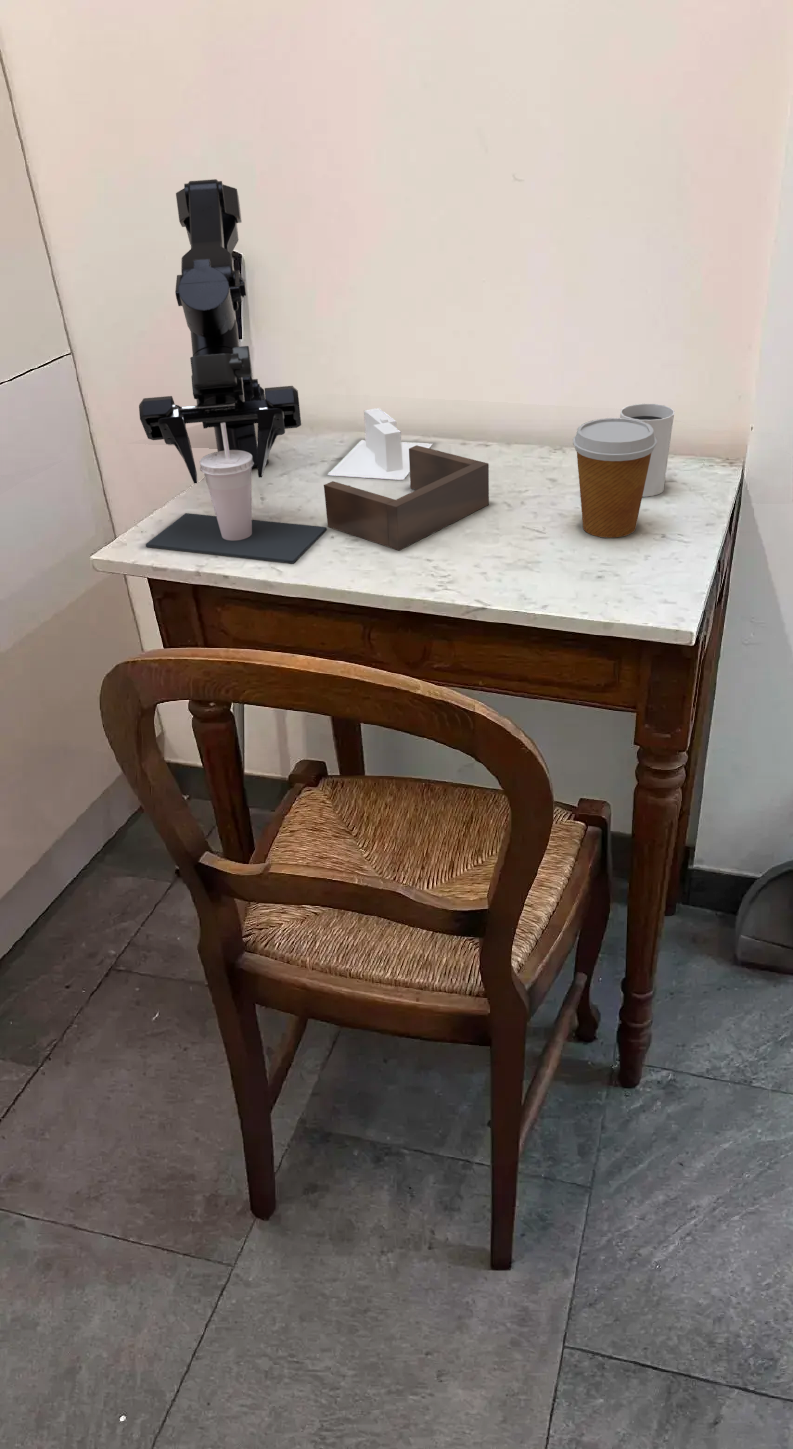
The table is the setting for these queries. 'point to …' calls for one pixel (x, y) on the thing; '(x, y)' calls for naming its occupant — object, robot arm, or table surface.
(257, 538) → the mat
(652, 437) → the disposable coffee cup
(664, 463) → the white paper cup
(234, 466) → the smoothie
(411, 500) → the frame
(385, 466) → the napkin holder
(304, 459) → the table surface
